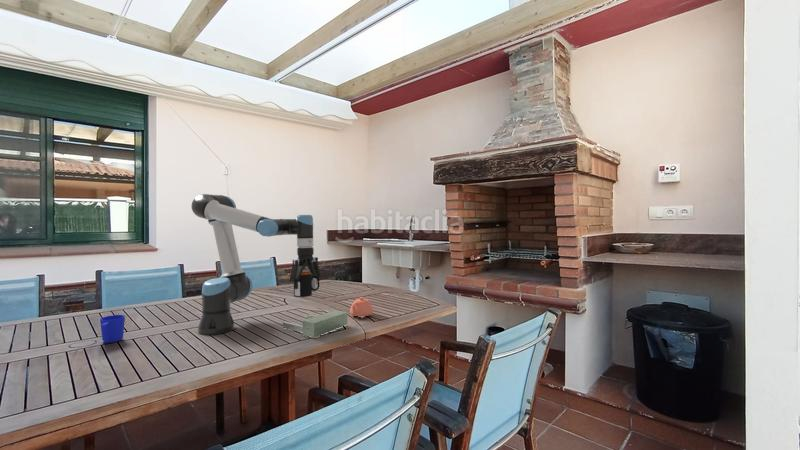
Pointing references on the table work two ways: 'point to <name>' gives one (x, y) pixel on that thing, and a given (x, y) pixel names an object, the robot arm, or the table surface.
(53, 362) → the table surface
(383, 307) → the table surface
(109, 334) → the mug
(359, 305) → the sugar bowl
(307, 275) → the mug
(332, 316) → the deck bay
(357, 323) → the table surface
